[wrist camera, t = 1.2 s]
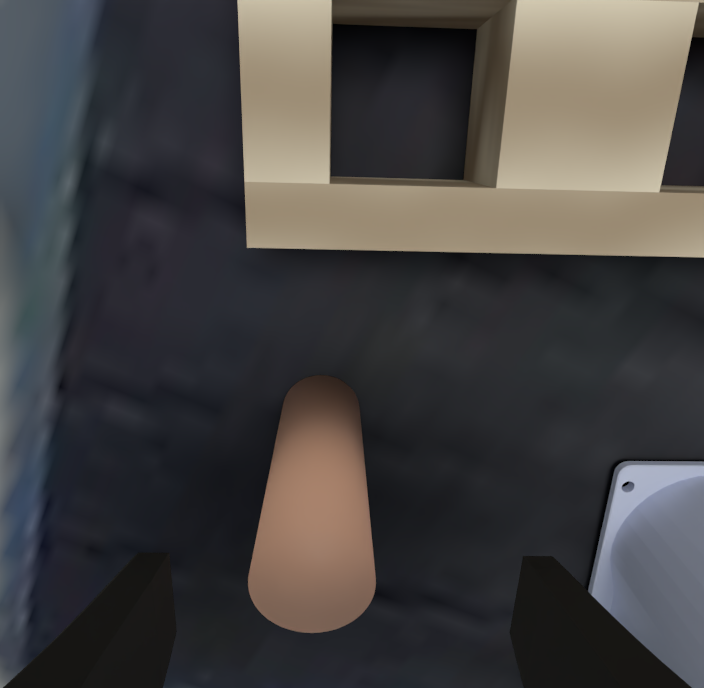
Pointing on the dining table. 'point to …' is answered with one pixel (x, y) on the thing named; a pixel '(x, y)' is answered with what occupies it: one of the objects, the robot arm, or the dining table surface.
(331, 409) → the peg
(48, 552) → the dining table surface
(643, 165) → the hole block
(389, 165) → the dining table surface
